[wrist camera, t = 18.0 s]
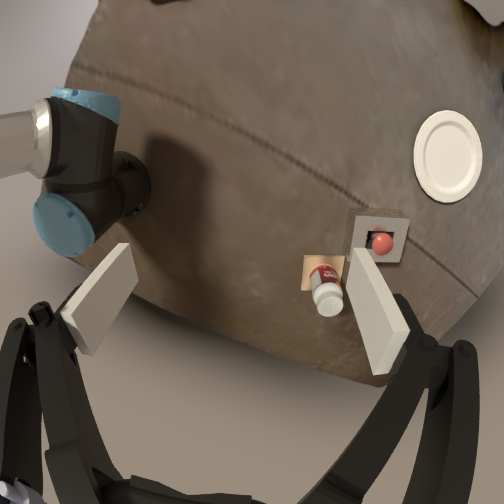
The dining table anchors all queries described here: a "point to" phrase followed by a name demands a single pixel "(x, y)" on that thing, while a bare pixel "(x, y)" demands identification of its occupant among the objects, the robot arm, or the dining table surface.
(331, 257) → the cork pad
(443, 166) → the plate
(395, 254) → the grey boxy piece
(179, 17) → the dining table surface
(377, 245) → the lever
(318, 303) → the pill bottle
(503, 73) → the lantern
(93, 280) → the robot arm
